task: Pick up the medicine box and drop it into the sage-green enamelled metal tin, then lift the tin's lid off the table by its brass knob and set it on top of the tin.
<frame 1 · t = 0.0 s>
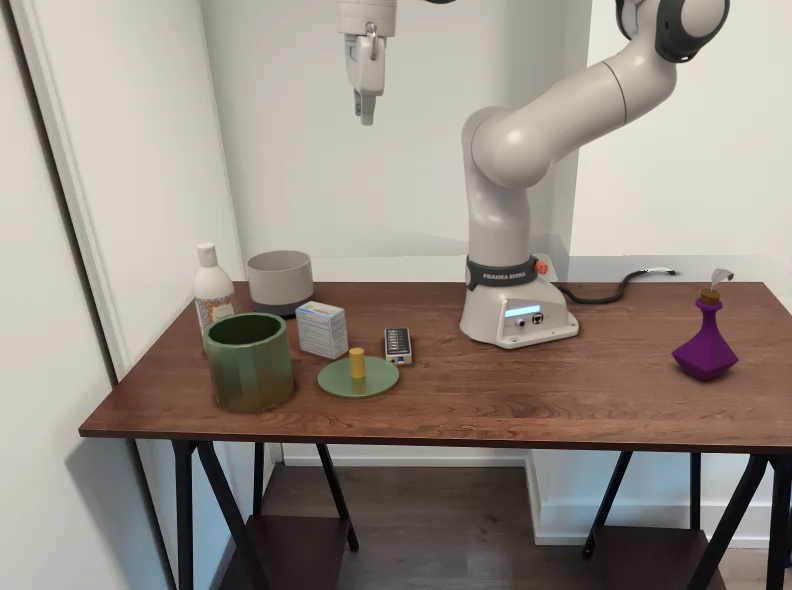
hand: (363, 120, 109), 39 cm above the table, tool pointing down, fingers open, 8 cm apart
planter: (284, 309, 142), on the table
tin lid: (358, 378, 114), point 1 cm above the table
bath foam: (225, 351, 126), on the table
medicine box: (324, 353, 124), on the table
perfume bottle: (700, 374, 114), on the table
tin: (255, 392, 112), on the table
multiport hub: (398, 353, 123), on the table
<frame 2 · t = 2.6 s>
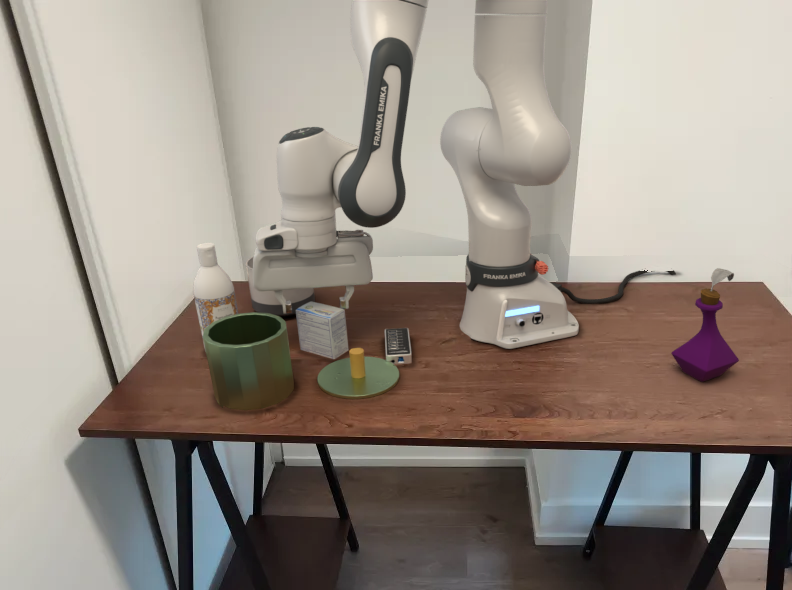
hand: (316, 310, 120), 8 cm above the table, tool pointing down, fingers open, 8 cm apart
medicine box: (324, 353, 124), on the table, touching gripper
everything else where it was.
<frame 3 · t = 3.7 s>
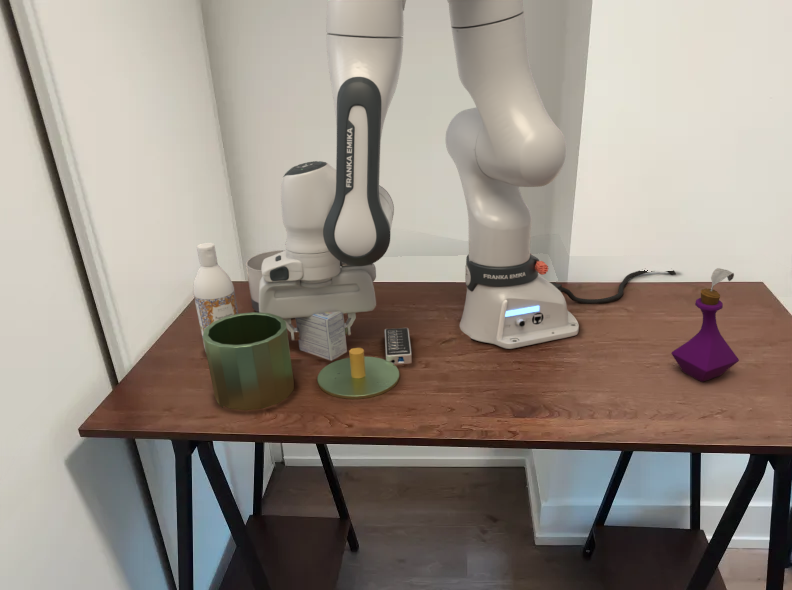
hand: (321, 336, 122), 3 cm above the table, tool pointing down, fingers closed on medicine box, 7 cm apart
medicine box: (323, 354, 124), on the table, touching gripper
everything else where it was.
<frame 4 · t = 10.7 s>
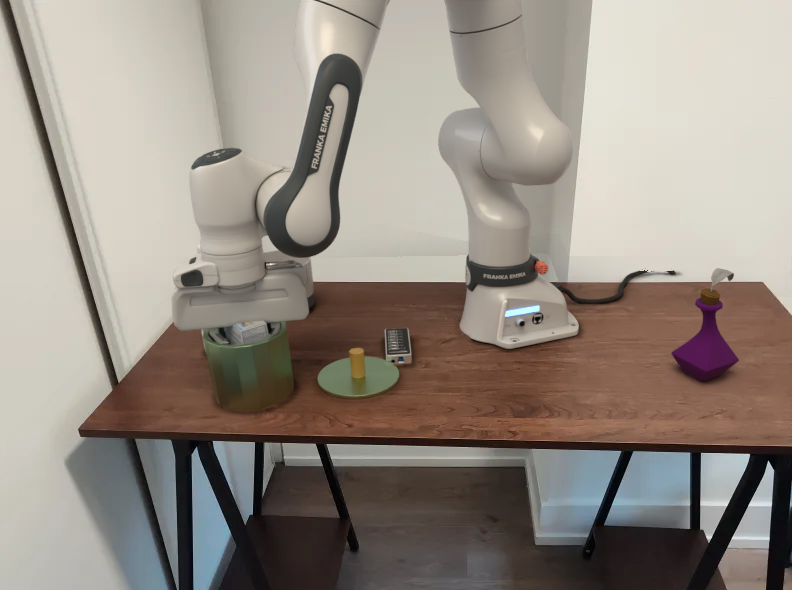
hand: (248, 348, 108), 8 cm above the table, tool pointing down, fingers closed on medicine box, 6 cm apart
medicine box: (252, 368, 110), point 5 cm above the table, touching gripper
everything else where it was.
when the fingers open (11 cm above the table, at t = 27.1 s): medicine box drops 7 cm, resting on tin.
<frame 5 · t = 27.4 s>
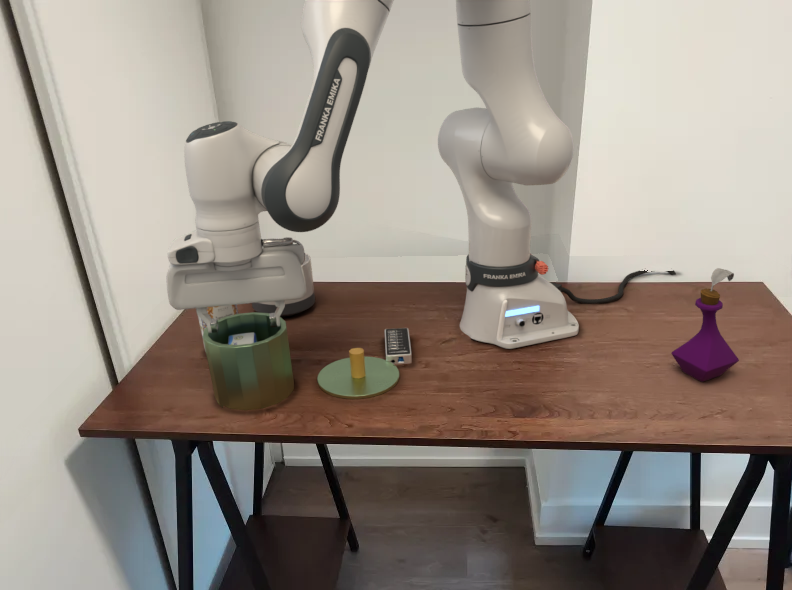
hand: (245, 328, 106), 12 cm above the table, tool pointing down, fingers open, 8 cm apart
medicine box: (250, 392, 112), resting on tin
everything else where it was.
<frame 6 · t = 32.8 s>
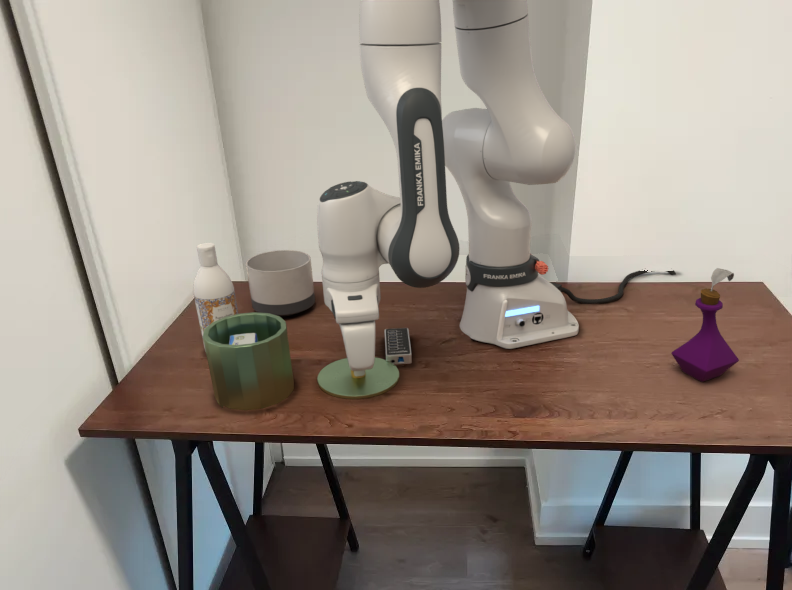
hand: (358, 368, 113), 2 cm above the table, tool pointing down, fingers closed on tin lid, 2 cm apart
tin lid: (358, 378, 114), point 1 cm above the table, touching gripper
everything else where it was.
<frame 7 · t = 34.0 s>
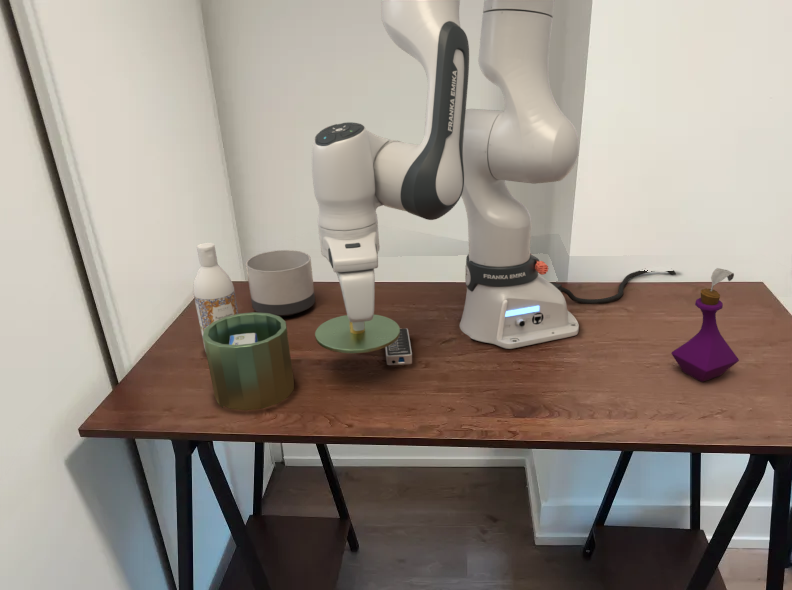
hand: (357, 323, 109), 10 cm above the table, tool pointing down, fingers closed on tin lid, 2 cm apart
tin lid: (357, 334, 110), point 9 cm above the table, touching gripper
everything else where it was.
when the fingers open (13 cm above the table, at t = 39.8 s): tin lid stays where it is, resting on tin.
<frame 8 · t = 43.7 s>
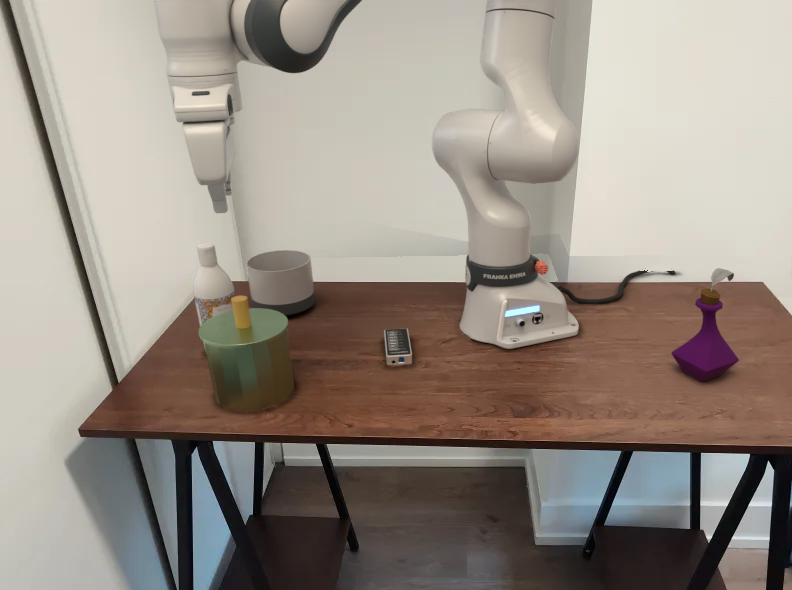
hand: (224, 202, 97), 31 cm above the table, tool pointing down, fingers open, 8 cm apart
tin lid: (244, 328, 106), point 11 cm above the table, touching tin
everything else where it was.
at the end: medicine box inside the target area in the tin (0.9 cm from its centre), point 0.3 cm above the tin's base; tin lid 0.1 cm off-centre on the tin, point 11.5 cm above the tin's base; tin lid tilted 0° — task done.
